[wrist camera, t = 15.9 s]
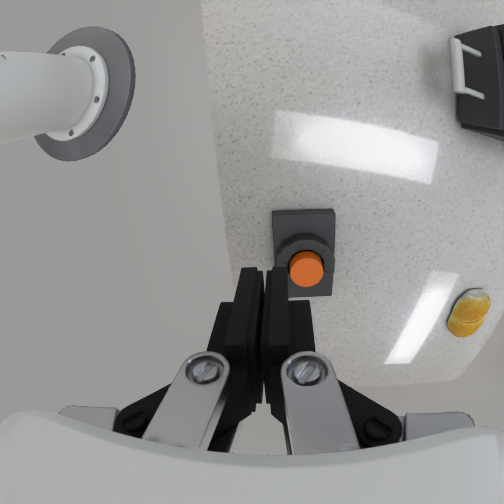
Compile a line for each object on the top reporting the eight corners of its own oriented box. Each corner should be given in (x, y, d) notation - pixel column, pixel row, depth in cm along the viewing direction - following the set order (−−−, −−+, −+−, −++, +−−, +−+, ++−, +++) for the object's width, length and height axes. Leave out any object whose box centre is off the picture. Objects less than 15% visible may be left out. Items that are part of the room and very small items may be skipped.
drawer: (430, 114, 24) (470, 119, 17) (425, 25, 18) (460, 9, 11) (521, 144, 22) (558, 157, 15) (520, 69, 17) (556, 71, 10)
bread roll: (440, 331, 39) (448, 347, 35) (457, 288, 34) (469, 303, 31) (473, 326, 38) (482, 341, 34) (490, 286, 34) (502, 299, 30)
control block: (272, 210, 32) (271, 221, 29) (333, 208, 31) (338, 219, 28) (277, 290, 37) (276, 306, 34) (329, 288, 36) (333, 304, 33)
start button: (289, 251, 31) (289, 259, 29) (321, 250, 30) (324, 257, 29) (290, 279, 32) (290, 287, 31) (321, 277, 32) (322, 286, 30)
